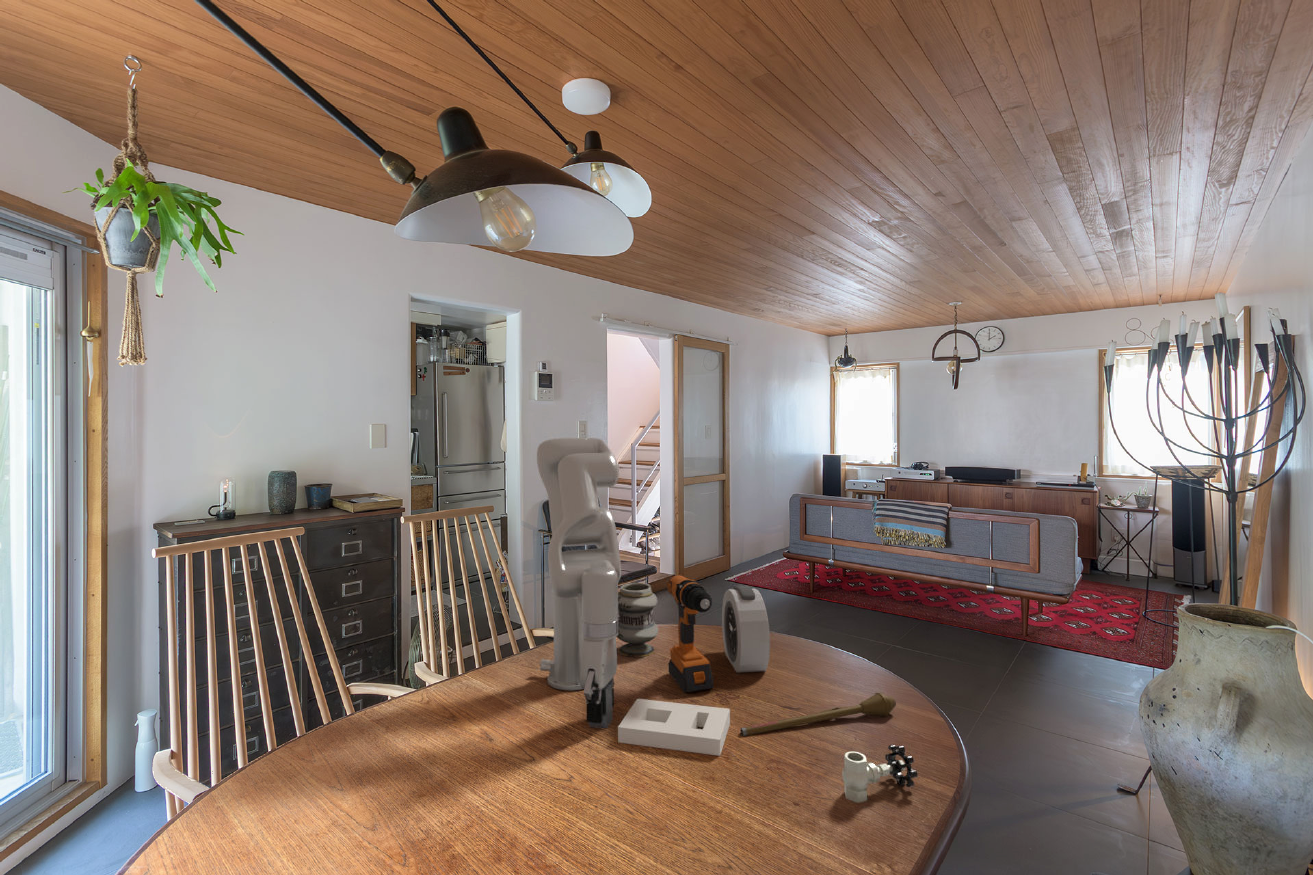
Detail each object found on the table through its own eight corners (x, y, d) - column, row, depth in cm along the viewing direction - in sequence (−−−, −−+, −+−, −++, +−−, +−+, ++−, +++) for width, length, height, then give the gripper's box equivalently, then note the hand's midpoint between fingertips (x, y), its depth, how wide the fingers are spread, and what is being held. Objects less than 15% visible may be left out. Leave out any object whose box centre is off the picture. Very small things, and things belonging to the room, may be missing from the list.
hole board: (618, 742, 117) (618, 726, 117) (637, 712, 130) (637, 698, 130) (720, 755, 112) (719, 739, 112) (729, 723, 125) (729, 708, 125)
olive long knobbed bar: (747, 749, 117) (738, 739, 122) (901, 717, 126) (887, 709, 131) (745, 724, 118) (736, 715, 122) (899, 694, 127) (885, 687, 131)
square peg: (588, 726, 124) (588, 687, 124) (595, 718, 127) (595, 680, 127) (606, 728, 123) (606, 689, 123) (612, 720, 126) (612, 682, 126)
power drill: (725, 702, 134) (725, 591, 134) (694, 707, 132) (693, 593, 132) (692, 667, 155) (692, 570, 155) (665, 670, 153) (664, 572, 153)
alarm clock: (721, 648, 168) (721, 577, 168) (748, 647, 169) (747, 576, 169) (740, 678, 147) (740, 598, 147) (770, 677, 148) (770, 596, 148)
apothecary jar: (610, 657, 162) (609, 590, 162) (620, 642, 174) (619, 580, 174) (654, 660, 160) (653, 592, 160) (661, 644, 172) (661, 581, 172)
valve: (858, 811, 95) (917, 794, 100) (858, 769, 95) (917, 755, 100) (832, 788, 102) (889, 773, 106) (832, 749, 102) (889, 736, 106)
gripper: (597, 614, 134) (598, 694, 134) (566, 640, 118) (567, 731, 118) (629, 616, 132) (630, 698, 132) (602, 643, 116) (603, 736, 116)
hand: (600, 713), depth 125 cm, fingers open, 6 cm apart
